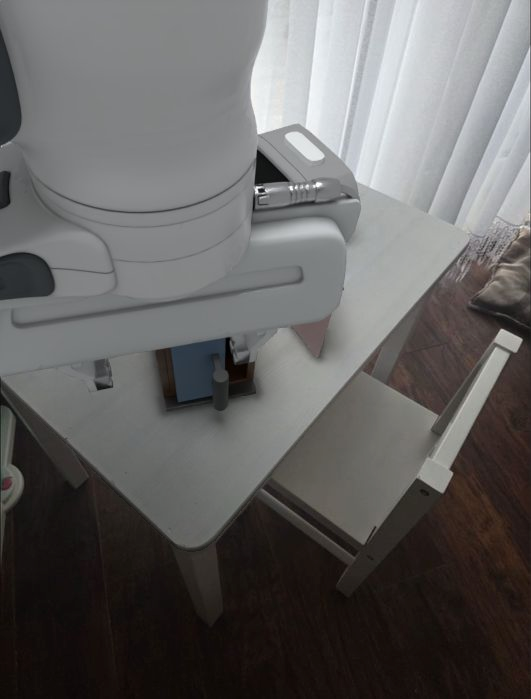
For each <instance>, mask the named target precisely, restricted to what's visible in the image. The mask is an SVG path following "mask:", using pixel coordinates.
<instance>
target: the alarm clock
mask: <svg viewBox="0 0 531 699" xmlns="http://www.w3.org/2000/svg"><path fill="white" fill-rule="evenodd" d="M257 135H258V142H257V153H256V169H255V182H254V185H257V184H266V183H276V182H305V181H311V180H312V179H316V178H322V177H330V178H337V179H339V181H340V183H341V184H343V185H347V186H350V187H352V188H353V189H354V190H355V191H356V192H357V193H358V195H359V194H360V192H359V187H358V182H357V180H356V178H355V175H354V173H353V171H352V170H351V169H350V167H349V166H348V165H347V164H346V163H345V162H344V161H343V160H342V159H341V158H340V157H339V156H338V155H337V154H336V153H335V152H334V151H332V149H330V148H329V147H328V146H327V145H326V144H325V143H324V142H323V141H321V139H320V138H318V137H317V136H316V135H315V134H313V132H311V131H310V130H309V129H307V127H304V126H303V125H301V124H300V123H294V124H293V123H292V124H289V125H287V126H283V127H280V128H275V129H273V130H269V131H265V132H263V133H260V134H257ZM359 196H360V195H359Z"/></svg>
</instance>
